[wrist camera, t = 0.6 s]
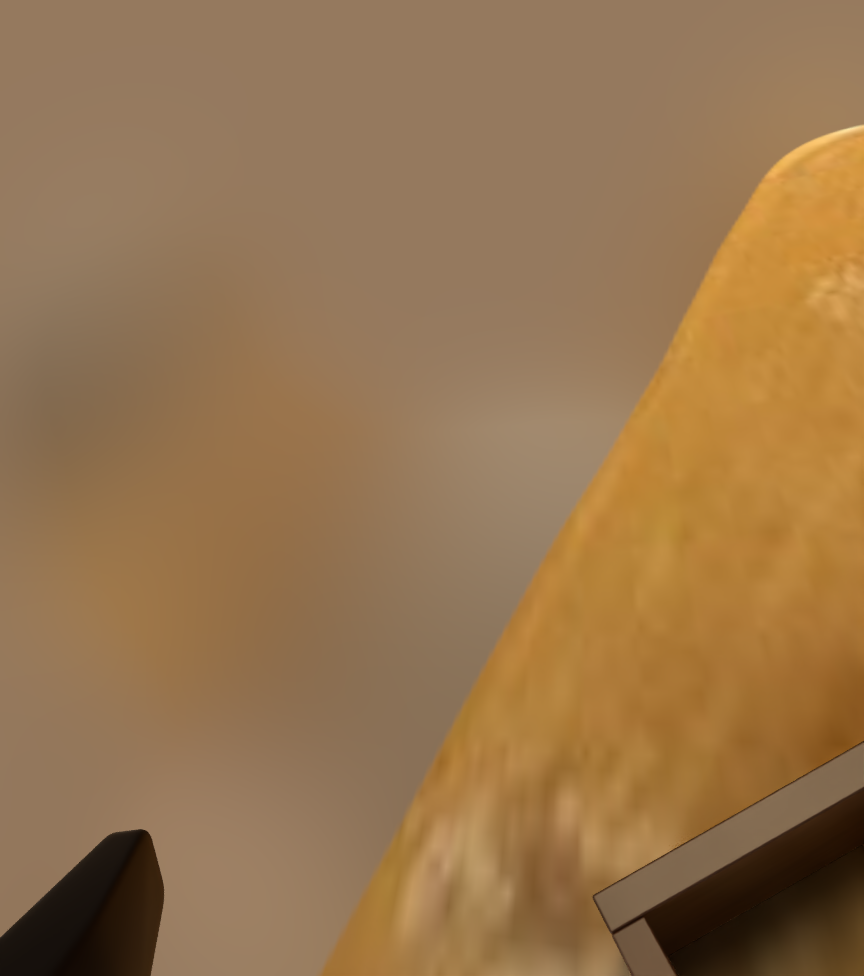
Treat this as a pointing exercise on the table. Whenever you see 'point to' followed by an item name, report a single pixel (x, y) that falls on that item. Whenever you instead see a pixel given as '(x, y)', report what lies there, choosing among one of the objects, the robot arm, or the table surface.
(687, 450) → the table surface
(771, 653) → the table surface
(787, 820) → the crate
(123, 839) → the robot arm
